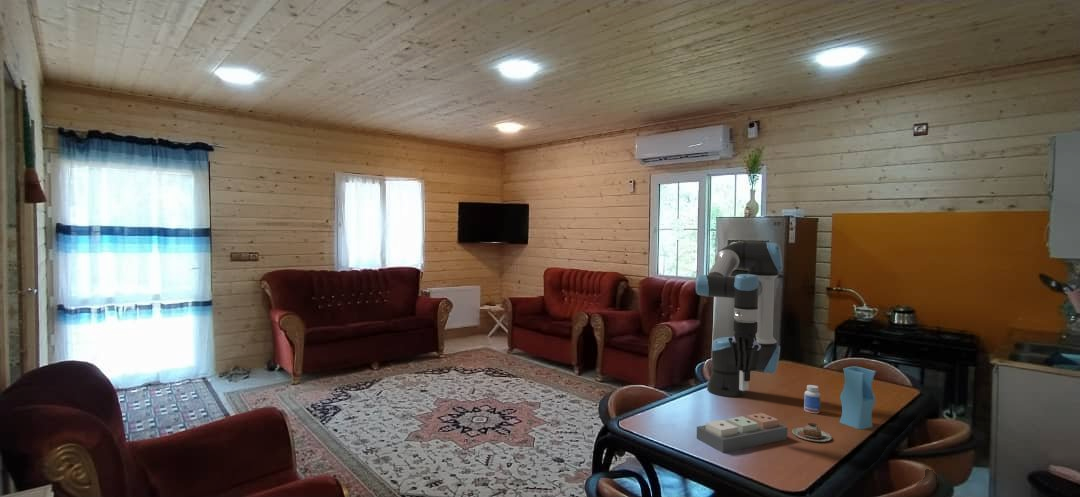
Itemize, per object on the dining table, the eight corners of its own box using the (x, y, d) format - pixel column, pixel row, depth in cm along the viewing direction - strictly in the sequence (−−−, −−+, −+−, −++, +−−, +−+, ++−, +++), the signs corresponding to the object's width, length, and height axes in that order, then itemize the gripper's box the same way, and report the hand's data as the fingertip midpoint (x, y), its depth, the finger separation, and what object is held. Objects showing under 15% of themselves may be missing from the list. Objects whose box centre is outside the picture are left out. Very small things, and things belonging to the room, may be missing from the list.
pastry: (830, 447, 171) (830, 433, 171) (789, 439, 177) (790, 425, 177) (832, 435, 181) (832, 422, 181) (793, 428, 188) (794, 415, 187)
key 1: (705, 434, 174) (705, 422, 174) (721, 431, 177) (722, 419, 177) (720, 442, 167) (721, 429, 167) (737, 439, 170) (737, 426, 170)
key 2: (726, 430, 178) (726, 418, 177) (742, 427, 180) (742, 415, 180) (742, 438, 171) (742, 425, 171) (758, 435, 174) (758, 422, 174)
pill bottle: (821, 414, 201) (822, 389, 200) (806, 413, 202) (807, 387, 201) (817, 409, 206) (818, 384, 206) (802, 408, 207) (803, 383, 207)
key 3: (746, 426, 181) (746, 414, 181) (761, 424, 184) (761, 412, 184) (762, 434, 175) (763, 421, 175) (777, 431, 178) (778, 418, 178)
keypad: (696, 438, 176) (696, 426, 175) (758, 426, 187) (759, 415, 187) (722, 452, 165) (723, 440, 165) (787, 439, 176) (787, 427, 176)
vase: (860, 430, 185) (862, 373, 185) (839, 422, 192) (841, 368, 192) (874, 426, 189) (876, 371, 188) (852, 419, 196) (854, 365, 195)
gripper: (722, 318, 181) (721, 385, 183) (752, 325, 170) (750, 397, 171) (739, 316, 185) (737, 382, 186) (769, 323, 173) (767, 394, 174)
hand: (743, 389), depth 178 cm, fingers closed
